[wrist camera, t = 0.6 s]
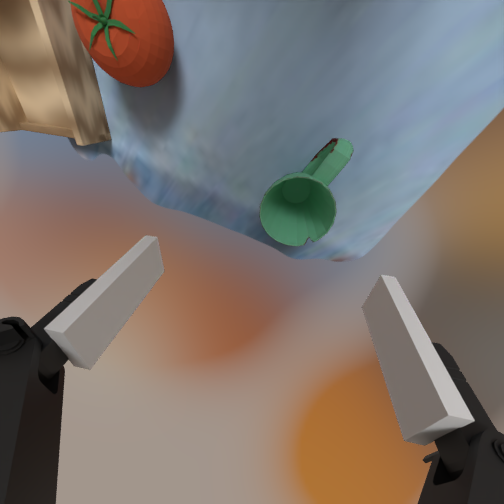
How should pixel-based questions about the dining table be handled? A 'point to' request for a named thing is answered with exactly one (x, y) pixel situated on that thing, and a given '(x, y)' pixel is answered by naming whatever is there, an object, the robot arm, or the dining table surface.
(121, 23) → the tomato
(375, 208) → the dining table surface
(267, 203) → the mug
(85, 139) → the rack
